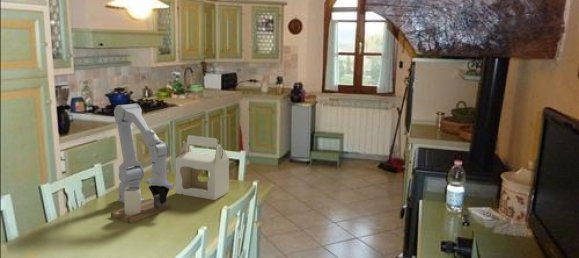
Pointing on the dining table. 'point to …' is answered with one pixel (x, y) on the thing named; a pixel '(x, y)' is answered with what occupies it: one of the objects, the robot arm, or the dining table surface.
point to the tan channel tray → (142, 210)
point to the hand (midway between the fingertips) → (159, 202)
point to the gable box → (212, 163)
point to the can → (132, 200)
